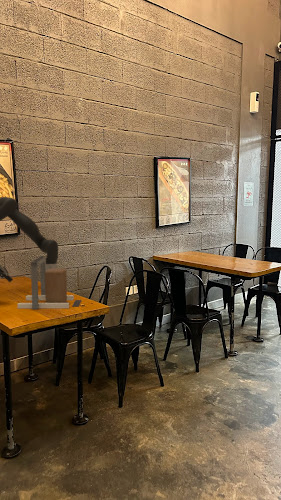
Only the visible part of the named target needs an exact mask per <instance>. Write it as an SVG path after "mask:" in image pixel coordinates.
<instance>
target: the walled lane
mask: <svg viewBox="0 0 281 500" xmlns="http://www.w3.org/2000/svg"><path fill="white" fill-rule="evenodd" d="M25 301H32V294H31V295H26V296H25ZM38 301H46V298H45V295H41V294H40V295H39V294H38ZM67 301H74V295H72V294H70V295H68V294H67ZM38 303H39V309H70V302H66V303H46V302H38ZM17 309H32V302H19V303H17Z"/></svg>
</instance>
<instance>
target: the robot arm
mask: <svg viewBox="0 0 281 500" xmlns="http://www.w3.org/2000/svg"><path fill="white" fill-rule="evenodd" d="M17 207H18V201H17V200H16V199H15V198H13V197H7V196H2V197H0V221H1V220H3V219H5V218H6V217H8V219H10V220H11V221H12V222H13V223H14V224H15V225H16V227H18V228H19V229H20V230H21V231H22V232H23V233H24V235H26V236H27V237H28V238H29V239H31V241H32V242H33V243H34V244H35V245H36V246H37V247H38V249H39V250H40V251H41V252H42V253H44V254H46V271H47V270H49V269H51V268H53V269H58V258H59V245H58V242H57V241H56V240H54V239H47V238H45V237H44V236H43V234H42V233H40V230H39V226H38V225H37V224H36V222H35V221H33V219H31V218H30V217H29V216H28V215H26V214H25V213H23V212H22V211H20V210H19V209H17ZM0 278H2V279H6V281H7V282H8V283H12V281H13V280H14V279H13V277H11V276H10V275H9V271H8V270H7V268H6V266H2V264H0Z"/></svg>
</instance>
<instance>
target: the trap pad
mask: <svg viewBox="0 0 281 500" xmlns="http://www.w3.org/2000/svg"><path fill="white" fill-rule="evenodd" d="M81 303H82V299H75V300H74V302H73V304H72V305H71V307H73V308H74V307H75V308H76V307H78V308H79V307H80V305H81Z"/></svg>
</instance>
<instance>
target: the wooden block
mask: <svg viewBox="0 0 281 500" xmlns="http://www.w3.org/2000/svg"><path fill="white" fill-rule="evenodd" d="M67 279H68V278H67V269H66V268H57V269H53V268H51V269H49V270H47V271H45V298H46V300H45V303H68V302H67V301H68V300H67V295H68V293H67V292H68V291H67V290H68V288H67V287H68V286H67V285H68V284H67V282H68V281H67Z"/></svg>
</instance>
